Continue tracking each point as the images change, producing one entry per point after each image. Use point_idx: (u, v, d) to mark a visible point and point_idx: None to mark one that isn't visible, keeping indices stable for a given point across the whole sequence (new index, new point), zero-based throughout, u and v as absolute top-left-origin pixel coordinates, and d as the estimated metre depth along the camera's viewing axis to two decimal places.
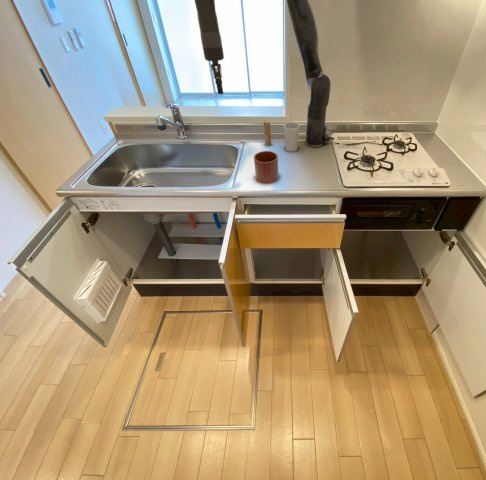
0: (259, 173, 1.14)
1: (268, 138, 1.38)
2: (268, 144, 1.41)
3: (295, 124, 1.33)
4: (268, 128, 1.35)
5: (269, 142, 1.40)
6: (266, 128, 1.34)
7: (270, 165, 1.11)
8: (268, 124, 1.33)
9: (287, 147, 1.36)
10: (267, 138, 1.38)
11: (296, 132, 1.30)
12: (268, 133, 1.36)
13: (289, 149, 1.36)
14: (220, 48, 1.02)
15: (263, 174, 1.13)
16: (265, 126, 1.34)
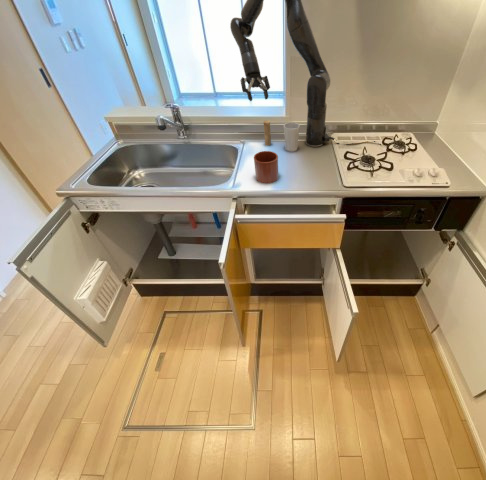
0: (259, 173, 1.14)
1: (268, 138, 1.38)
2: (268, 144, 1.41)
3: (295, 124, 1.33)
4: (268, 128, 1.35)
5: (269, 142, 1.40)
6: (266, 128, 1.34)
7: (270, 165, 1.11)
8: (268, 124, 1.33)
9: (287, 147, 1.36)
10: (267, 138, 1.38)
11: (296, 132, 1.30)
12: (268, 133, 1.36)
13: (289, 149, 1.36)
14: (248, 64, 1.28)
15: (263, 174, 1.13)
16: (265, 126, 1.34)
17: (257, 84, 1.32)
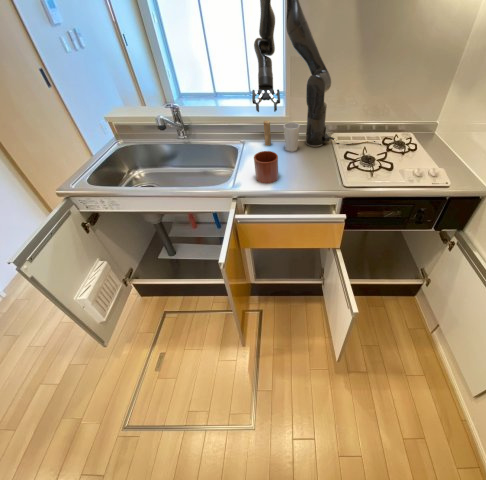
0: (259, 173, 1.14)
1: (268, 138, 1.38)
2: (268, 144, 1.41)
3: (295, 124, 1.33)
4: (268, 128, 1.35)
5: (269, 142, 1.40)
6: (266, 128, 1.34)
7: (270, 165, 1.11)
8: (268, 124, 1.33)
9: (287, 147, 1.36)
10: (267, 138, 1.38)
11: (296, 132, 1.30)
12: (268, 133, 1.36)
13: (289, 149, 1.36)
14: (260, 78, 1.33)
15: (263, 174, 1.13)
16: (265, 126, 1.34)
17: (267, 97, 1.35)
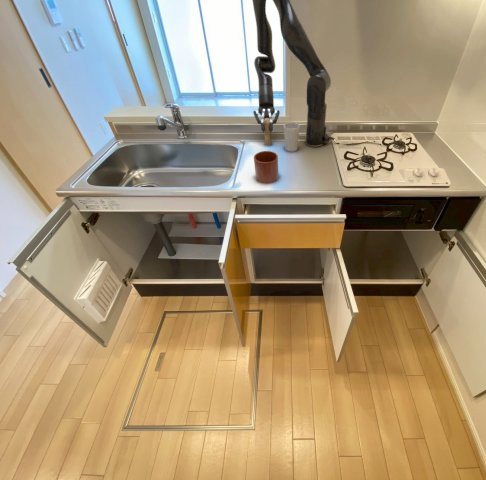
0: (259, 173, 1.14)
1: (268, 138, 1.38)
2: (268, 144, 1.41)
3: (295, 124, 1.33)
4: (268, 128, 1.35)
5: (269, 142, 1.40)
6: (266, 128, 1.34)
7: (270, 165, 1.11)
8: (268, 124, 1.33)
9: (287, 147, 1.36)
10: (267, 138, 1.38)
11: (296, 132, 1.30)
12: (268, 133, 1.36)
13: (289, 149, 1.36)
14: (261, 96, 1.32)
15: (263, 174, 1.13)
16: (265, 126, 1.34)
17: (267, 115, 1.34)
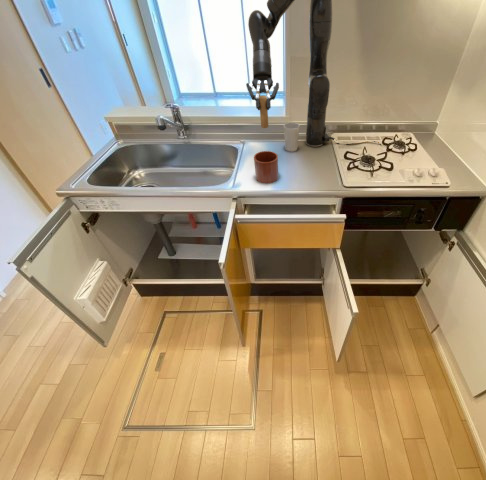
0: (259, 173, 1.14)
1: (265, 118, 1.11)
2: (265, 126, 1.14)
3: (295, 124, 1.33)
4: (265, 105, 1.08)
5: (266, 123, 1.13)
6: (262, 105, 1.08)
7: (270, 165, 1.11)
8: (264, 100, 1.06)
9: (287, 147, 1.36)
10: (263, 118, 1.11)
11: (296, 132, 1.30)
12: (265, 112, 1.10)
13: (289, 149, 1.36)
14: (255, 64, 1.05)
15: (263, 174, 1.13)
16: (261, 102, 1.07)
17: (264, 88, 1.07)
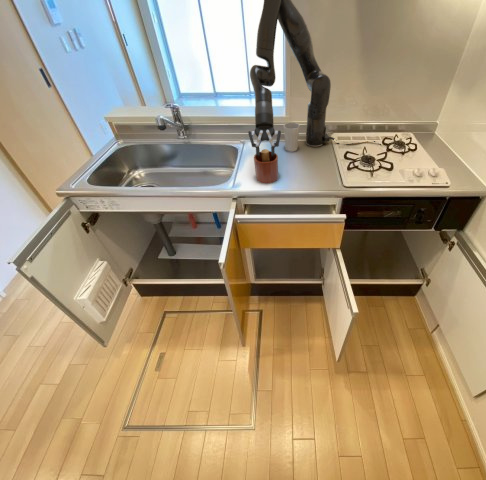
0: (259, 173, 1.14)
1: None
2: None
3: (295, 124, 1.33)
4: (267, 158, 1.12)
5: None
6: (264, 158, 1.12)
7: (270, 165, 1.11)
8: (267, 154, 1.11)
9: (287, 147, 1.36)
10: None
11: (296, 132, 1.30)
12: None
13: (289, 149, 1.36)
14: (258, 114, 1.08)
15: (263, 174, 1.13)
16: (263, 156, 1.11)
17: (266, 137, 1.10)
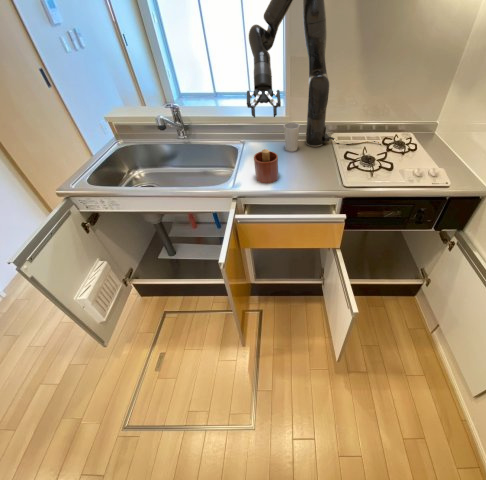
0: (259, 173, 1.14)
1: None
2: None
3: (295, 124, 1.33)
4: (267, 158, 1.12)
5: None
6: (265, 158, 1.12)
7: (270, 165, 1.11)
8: (267, 154, 1.11)
9: (287, 147, 1.36)
10: None
11: (296, 132, 1.30)
12: None
13: (289, 149, 1.36)
14: (256, 76, 1.09)
15: (263, 174, 1.13)
16: (264, 156, 1.11)
17: (265, 99, 1.11)
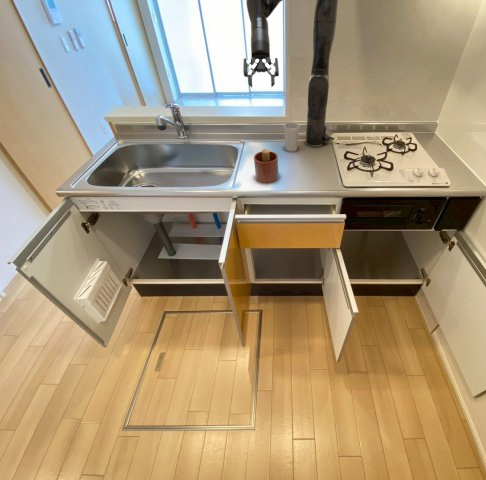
0: (259, 173, 1.14)
1: None
2: None
3: (295, 124, 1.33)
4: (267, 158, 1.12)
5: None
6: (265, 158, 1.12)
7: (270, 165, 1.11)
8: (267, 154, 1.11)
9: (287, 147, 1.36)
10: None
11: (296, 132, 1.30)
12: None
13: (289, 149, 1.36)
14: (253, 42, 1.04)
15: (263, 174, 1.13)
16: (264, 156, 1.11)
17: (262, 67, 1.07)
